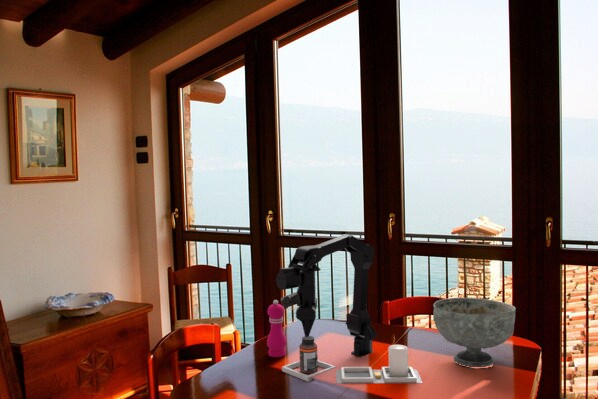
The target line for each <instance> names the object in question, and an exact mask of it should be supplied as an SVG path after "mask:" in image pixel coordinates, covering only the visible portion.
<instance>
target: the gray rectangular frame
mask: <svg viewBox="0 0 598 399" xmlns="http://www.w3.org/2000/svg"><path fill="white" fill-rule="evenodd" d="M335 379H336V384H423V381H422V378H421V376H420V373H419V372H418V369H414V368H413V367H412V366H408V377H389V366H381V369H372V366H341V367H340V369H336V370H335Z"/></svg>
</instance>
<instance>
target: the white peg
mask: <svg viewBox="0 0 598 399" xmlns="http://www.w3.org/2000/svg"><path fill="white" fill-rule="evenodd" d="M387 349H388V367H389V377H408V367H409V347H408V346H406V345H403V344H392V345H389V346H388V348H387Z"/></svg>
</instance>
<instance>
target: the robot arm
mask: <svg viewBox="0 0 598 399" xmlns="http://www.w3.org/2000/svg"><path fill="white" fill-rule="evenodd" d="M342 250H346V252H348V253H349V255H350V261H351V264H352V265H353V268H354V270H353V271H354V273H353V293H352V294H353V296H352V309H351V310H350V312H349V313H348V312H347V313H346V314H345V317H346V318H345V319H346V320H345V321H346V322H345V325H346V327H347V328H346V329H347V330H348V331H349V335H350V336H352V337H354V338H353V340H354V341H353V351H351V352H350V353H351V354H352V355H355V356H357V357H365V356H366V355H369V354H372V353H375V351H374V350H373V340H374V339H376V338H377V335H378V332H377V330H376V329H375V328H374V327H373V326H372V323H371V322H372V320H371V316H370V314H369V312H368V309H367V306H368V286H369V285H368V283H369V269H370V268H371V266H372V264H373V262H374V257H375V249H374V247H373V246H372V245H371V244H367V243H366V242H364V241H362V240H361V239H357V237H355V236H354V235H353V234H344V233H343V234H341V235H339V236H338V237H334V238H331V239H330V240H327V241H324V242H321V243H318V244H315V245H304V246H303V245H302V246H299V247H297V248H296V249H295V252H294V255H293V257H292V259H291V261H290V262H289V264H288V266H287V267H280V268H279V272H278V273H277V275H276V278H275V282H276V286H277V288H278V289H279V290H281V291H285V290H290V289H296V288H297V290H296V292H293V293H292V292H291V293H290V294H287V295H284V296H281V298H280V302H281V305H282V306H283V308H284V310H286V309H288V308H290V307H293V306H295V305H296V307H297V308H296V311H295V318H296V319H297V320H298V321H300V322H301V325H302V329H303V333H304V336H305V337H309V336H310V334H311V331H312V329H313V326H314V324H315V320H316V318H317V308H318V298H317V297H316V272H320V271H321V267H319V266H318V265H317V264H318V263H319V262H321V261H322V259H323V258H325V257H326V256H329V255H331V254H334V253H336V252H339V251H342Z"/></svg>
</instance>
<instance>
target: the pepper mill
mask: <svg viewBox="0 0 598 399" xmlns="http://www.w3.org/2000/svg"><path fill="white" fill-rule="evenodd" d="M267 315H268V316H269V320H268V321H269V323H270V331H269V335H268V336H267V340H266V346H267V347H268V348H269V349H268V356H269V357H272V358H282V357H284V356H286V354H287V353H286V352H287V351H286V346H287V344H288V342H287V337H286V335H285V332H284V330H283V322H284V317H283V315H285V309H284V307H283V305H282V304H280V303H279V300H277V299H274V300H273V302H272V304H270V305H269V306H268V308H267Z"/></svg>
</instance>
